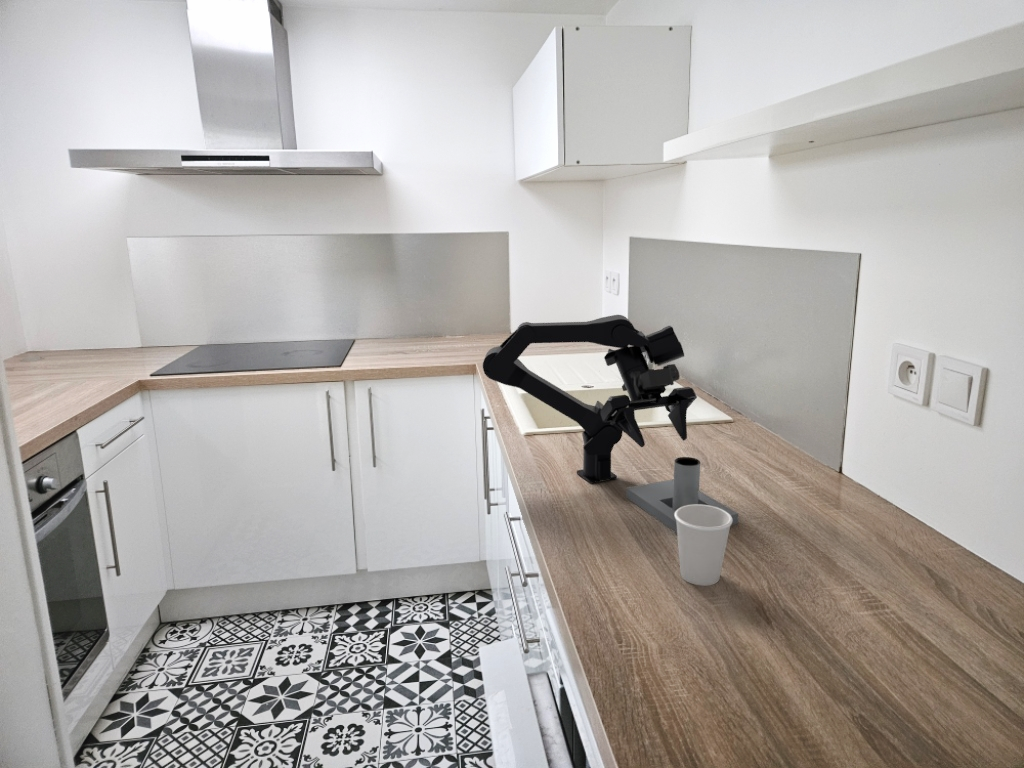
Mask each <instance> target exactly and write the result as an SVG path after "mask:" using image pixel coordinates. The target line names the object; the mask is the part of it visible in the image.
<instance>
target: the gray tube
mask: <svg viewBox="0 0 1024 768" xmlns="http://www.w3.org/2000/svg"><path fill="white" fill-rule="evenodd" d="M673 464H674V466H673V479H674V484H673V506H672V509H673V510H675V511H676V510H677V509H679V508H680V507H683V506H686V505H693V504H698V499H699V491H700V482H701V481H700V479H701V477H700V476H701V460H699V459H697V458H695V457H689V456H681V457H677V458H675V459H674V463H673Z"/></svg>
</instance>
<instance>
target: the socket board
mask: <svg viewBox="0 0 1024 768" xmlns="http://www.w3.org/2000/svg"><path fill="white" fill-rule="evenodd" d="M673 484H674V478H673V479H668V480H661V481H655V482H651V483H650V482H649V483H645V484H639V485H634V486H628V487H626V493H625V498H627V499H628V500H629V501H630V502H632V503H634V504H635V505H636V506H637V507H639V508H641V509H642V510H643V511H645V512H646V513H647V514H649V515H650V516H652V517H653V518H655V519H656V520H657V521H659V522H660V523H661V524H663V525H664V526H665V527H667V528H668V529H670V530H671V531H672V532H674V533H675V534H677V523H676V519H675V516H674V514H675V512H676V511H675V510H673V509H672V506H673ZM698 504H701V505H709V506H714V507H717V508H720V509H722V510H724V511H726V512H727V513H729V514H730V515H731V517H732V520H733V521H732V524H731V525H730V527H731V526H734V525H738V524H739V512H737V511H735V510H733V509H731V508H729V506H727V505H725V504H723V503H722V502H719V501H718V500H716V499H714V498H713V497H711V496H709V495H707V494H706V493H704V492H702V491H701V490H699V499H698Z"/></svg>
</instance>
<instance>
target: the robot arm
mask: <svg viewBox="0 0 1024 768" xmlns="http://www.w3.org/2000/svg"><path fill="white" fill-rule="evenodd" d="M518 325H519V326H517V328H516V329H515V330H514V331H513V332H512V333H511V334H510V335H509V336H508V337H507V338H506V339H505V340H504V341H503V342H502V343H500V345H497V346H494V347H492V348H490V349H489V350H488V351H487V352H486V355H485V356H484V359H483V362H482V370H483V373H484V374H485V376H486V377H487V378H488V379H490V380H492V381H495V382H497V383H500V384H501V385H502V384H503V385H505V386H510V387H514V388H517V389H520V390H522V391H524V392H525V393H527V394H529V395H530V396H532V397H533V398H535V399H537V400H539V401H540V402H542V403H544V404H546V405H547V406H549V407H550V408H552V409H554V410H555V411H557V412H559V413H561V414H562V415H564V416H566V417H567V418H569V419H571V420H573V421H574V422H576V423H577V424H578V425H579V426H580V427H581V428H582V429H583V430H584V431H582V433H581V434H582V442H583V445H582V446H583V447H582V448H583V449H582V450H583V452H582V454H583V459H582V469H579V470H576V474H577V475H579V476H580V478H583V479H584V480H586V482H587V483H590V484H593V483H599V482H605V481H609V480H611V481H612V480H616V479H618V475H617V474H616V473H613V472H612V451H613V448H614V446H615V445H616V444H618V443H619V442H620V441H621V439H622V437H623V433H624V434H626V435H627V436H628V437H629V438H631V440H633V441H634V442H635V443H636V444H637V445H638V446H639V447H640V448H643V447H645V446H646V442H645V439H644V437H643V434H642V431H641V429H640V426H639V424H638V422H637V419H636V416H635V411H640V410H647V409H655V408H663V407H665V410H666V411H667V412H668V414H667V417H668V419H669V420H670V422H671V424H672V425H673V427H674V429H675V430H676V432H677V434H678V436H679V437H680V438H681V440H682V441H686V440H687V438H688V430H687V429H688V428H687V411H688V408H689V407H690V406H691V405H692V403H694V401H695V400H696V399H697V398H698V396H697V395H696V392H695V390H694V389H693V387H690V386H684V387H677V388H673V389H672V390H671V392H670V393H669V394H668V395H664V396H662V395H661V394H664V393H665V392H666V390H667V388H666V387H669V386H674V384H675V383H674V382H677V381H679V379H680V378H681V377H680V372H679V369H678V367H677V365H676V364H675V363H673V364H667V363H670V362H673V361H677V360H679V359H681V358H684V357H685V352H684V349H683V346H682V343H681V342H680V341H679V339H678V337H677V335H676V333H675V330H674V328H673V326H672V325H667V326H665V327H663V328H662V329H659V330H657V331H654V332H652V333H650V334H647V335H645V334H644V332H643V331H642V330H641V331H639V330H638V329H637V328H635V327H634V324H633V323H632V322H631V321H630V320H629V319H628V318H627V317H626V316H625V315H622V314H613V315H608V316H604V317H599V318H596V319H592V320H587V321H573V322H572V321H568V322H567V321H563V322H562V321H560V322H529V321H525V322H522V323H520V324H518ZM560 343H561V344H562V343H563V344H564V343H591V344H595V345H596V344H597V345H600V346H605V347H612V348H618V349H611V348H609V349H608V350H607V353H606V354H605V355H604V357H603V359H604V362H605V364H606V366H607V367H610V366H612V365H615V364H616V367H617V369H618V372H619V375H620V377H621V379H622V382H623V384H622V386H621V389H622V391H623V392H625V391H626V392H627V395H626V394H621V395H613V396H612V395H611V396H609V397H608V398H607V400H606V401H605V402H604V404H603V403H602V402H601V401H599V400H596V403H595V405H591V404H588V403H584V402H583V401H582V400H580V399H579V398H576V397H574V396H573V395H572V394H570V393H568V392H566V391H565V390H563V389H561V388H560V387H558V386H556V385H555V384H553V383H552V382H550V381H548V380H546V379H545V378H543V377H541V376H540V375H538V374H537V373H535V372H533V371H531V370H530V369H529V368H528V367H527V366H526V365H525V364H524V363H523V362H522V361H521V360H520V359H519V358H520V356H521V355H522V354H523V353H524V351H525V350H526V349H527V348H528V347H529V346H530V345H531V344H560ZM644 353H645V355H646V357H647V359H648V361H649V363H650V365H651V364H654V365H655V366H657V367H660V366H663V365H665V364H667V365H665V366H663V367H662V368H658V369H654V368H650V367H649V364H648V363H647V360H646V357H645V356H644Z"/></svg>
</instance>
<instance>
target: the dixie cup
mask: <svg viewBox="0 0 1024 768" xmlns="http://www.w3.org/2000/svg"><path fill="white" fill-rule="evenodd" d="M674 516H675V519H676V523H677V533H676V534H677V542H678V543H677V546H678V556H679V557H678V559H679V568H680V576H681V579H683V580H684V581H685V582H687V583H690V584H692V585H695V586H701V587H702V586H704V587H706V586H707V587H708V586H712V585H714V584H717V583H718V582H719V580H720V577H721V572H722V567H723V561H724V557H725V554H726V552H725V551H726V548H727V547H726V546H727V543H728V538H729V533H730V528H731V526H732V525H731V524H732V521H733V520H732V517H731V515H730V514H729V513H727V512H726V511H724V510H722V509H720V508H717V507H714V506H709V505H701V504H693V505H686V506H683V507H680V508H679V509H677V510H676V512H675V514H674ZM730 525H731V526H730Z"/></svg>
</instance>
